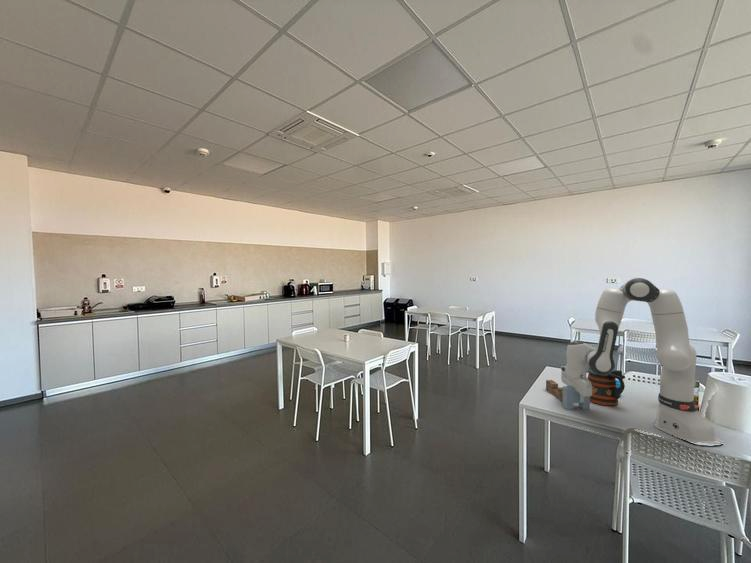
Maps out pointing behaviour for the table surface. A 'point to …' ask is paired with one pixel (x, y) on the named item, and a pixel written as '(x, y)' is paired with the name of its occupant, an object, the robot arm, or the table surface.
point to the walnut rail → (554, 389)
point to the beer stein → (606, 387)
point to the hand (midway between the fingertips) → (575, 397)
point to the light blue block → (573, 398)
